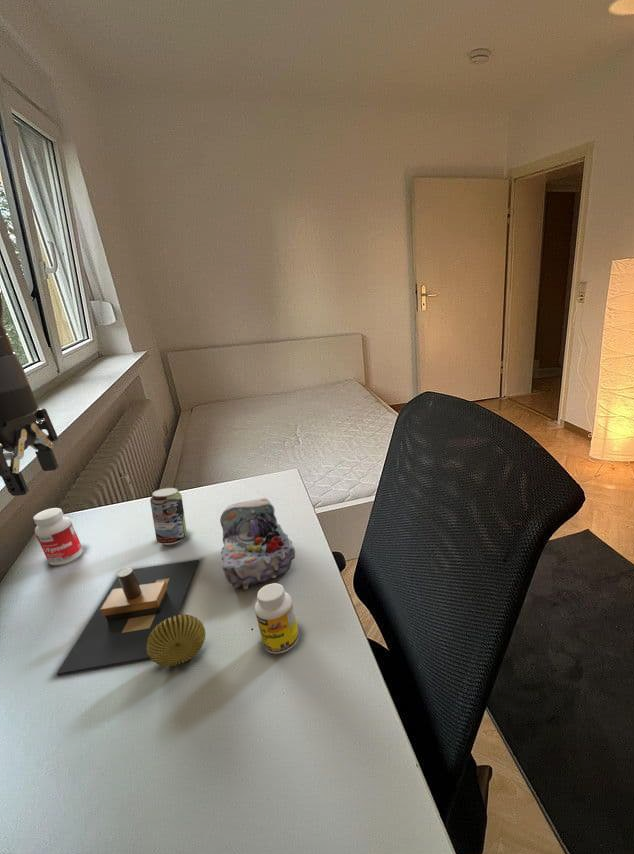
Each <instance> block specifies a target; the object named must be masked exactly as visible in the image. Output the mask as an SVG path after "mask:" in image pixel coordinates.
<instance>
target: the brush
mask: <svg viewBox="0 0 634 854" xmlns="http://www.w3.org/2000/svg"><path fill="white" fill-rule="evenodd" d="M116 576H117V577H118V579H119V582H120V584H121V587H122V588H119V589H113V590H112V591H111V593H110V594H109V596H108V598H107V599H106V601H105V603H104V604H103V606H102V607H101V609H100V610H101V613H102V615H103V616H106V619H107V621H114V620H120V619H126V618H132V617H138V616H144V615H150V614H156V613H160V612H161V610H162V608H163V605H164V603H165V601H166V599H167V596H168V593H167V585H166V582H165V581H163V582H157V583H151V584H144V585H139V584H138V581H137V579H136V576H135V573H134V571H133V568H132V567H125V568H123V569H121V570H119V571H118V572H117V574H116ZM117 577H116V578H117Z"/></svg>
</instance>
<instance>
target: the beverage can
mask: <svg viewBox="0 0 634 854" xmlns="http://www.w3.org/2000/svg"><path fill="white" fill-rule="evenodd" d="M149 502H150V508H151V514H152V522H153V526H154V527H153V528H154V534H155V539H156V542H157V543H159V544H162V545H167V546H168V545H169V546H170V545H175V544H178V543H180V542H181V541H183V540H184V539H185V538H186V537H187V535H188V532H187V525H186V524H187V523H186V518H185V517H186V516H185V510H184V509H185V508H184V504H183V496H182V494H181V492H179V490H178V488H176V487H164V488H160V489H159V488H158V489H155V490H154V491H153V492H152V493H151V497H150V499H149Z"/></svg>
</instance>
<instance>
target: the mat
mask: <svg viewBox="0 0 634 854" xmlns="http://www.w3.org/2000/svg"><path fill="white" fill-rule="evenodd" d="M199 564H200V559H193V560H187V561H186V560H185V561H179V562H174V563H173V562H172V563H167V564H160V565H153V566H147V567H141V568H134V569H133V568H132V569H133V571H134V573H135V576H136V579H137V581H138V584H139V585H144V584H151V583H157V582H163V581H165V582H166V585H167V593H168V596H167V599H166V601H165V603H164V605H163V608H162V610H161V612H160V613H156V614H150V615H144V616H138V617H132V618H126V619H120V620H114V621H107V619H106V616H103V615H102V613H101V610H100V609H101V607H102V606H103V604H104V603H105V601H106V599H107V598H108V596H109V594H110V593H111V591H112V590H113V589H119V588H122V587H121V584H120V582H119V579H118V577H116V579H115V580H114V582H113V583H112V585H111V586H110V588H109V590H108V591H107V593H106V594H105V596H104V598H103V599H102V600H101V602H100V604H99V605H98V607H97V608H96V610H95V612H94V614H93V615H92V616H91V618H90V620H89V621H88V623H87V625H86V626H85V628H84V630H83V631H82V633H81V634H80V635H79V637H78V639H77V641H76V642H75V644H74V645H73V646H72V649H71V650H70V652H69V653H68V655H67V656H66V658H65V659H64V661H63V662H62V664H61V666H60V667H59V669H58V671H57V672H56V676H63V675H68V674H74V673H80V672H86V671H91V670H97V669H102V668H103V669H104V668H109V667H114V666H119V665H124V664H125V665H126V664H130V663H136V662H142V661H147V660H151V659H150V657H149V655H148V653H147V641H148V637H149V636H150V633H151V632H152V630H153V629H154V628H155V627H156V626H157V625H158V624H159V623H160V622H162V621H164V620H165V619H168V618H169V617H171V618H172V620H173V616H176V619H177V615H180V612H181V609H182V607H183V604H184V601H185V599H186V596H187V594H188V592H189V590H190V586H191V584H192V581H193V579H194V576H195V573H196V571H197V569H198V566H199ZM168 620H169V619H168Z"/></svg>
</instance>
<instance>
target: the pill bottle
mask: <svg viewBox="0 0 634 854" xmlns="http://www.w3.org/2000/svg"><path fill="white" fill-rule="evenodd" d="M32 518H33V521H34V523H35V525H36V526H35V528H34V534H35V536H36V538H37V541H38V543H39V545H40V547H41V550H42V551H43V554H44V555H45V558H46V560H47V562H48V564H49V565H51V566H61V565H65V564H68V563H71V562H73V561H75V560H76V559H78V558H79V557H81V555H82V554H83V553H84V552H83V551H84V549H83V546H82V544H81V541H80V539H79V536H78V534H77V531H76V530H75V527H74V525H73V522H72V520H71V518H70V517H68V516H65V515H64V512H63V511H62V509H61V508H59V507H52V508H51V507H50V508H47V509H44V510H42V511H39V512H38V513H36V514H35V515H34V516H33V517H32Z"/></svg>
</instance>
